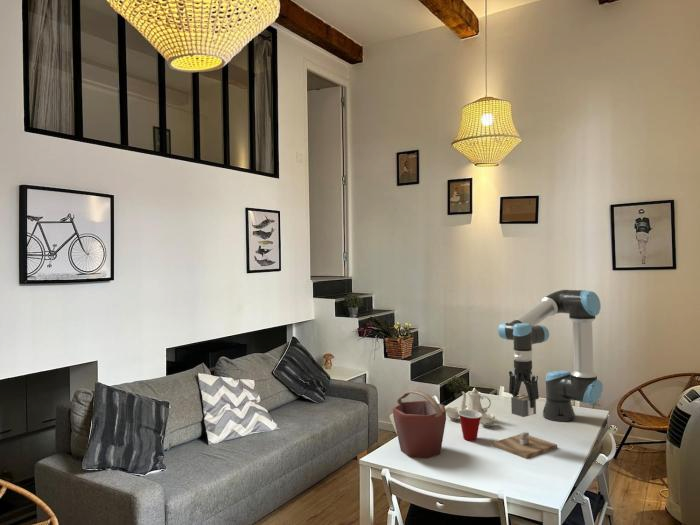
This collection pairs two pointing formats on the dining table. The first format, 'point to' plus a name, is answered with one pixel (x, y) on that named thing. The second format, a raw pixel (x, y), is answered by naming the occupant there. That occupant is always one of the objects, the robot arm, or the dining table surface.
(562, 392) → the robot arm
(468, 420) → the plastic cup
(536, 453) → the hub base
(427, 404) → the bucket
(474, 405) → the chinaware
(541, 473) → the dining table surface
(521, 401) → the grey box
